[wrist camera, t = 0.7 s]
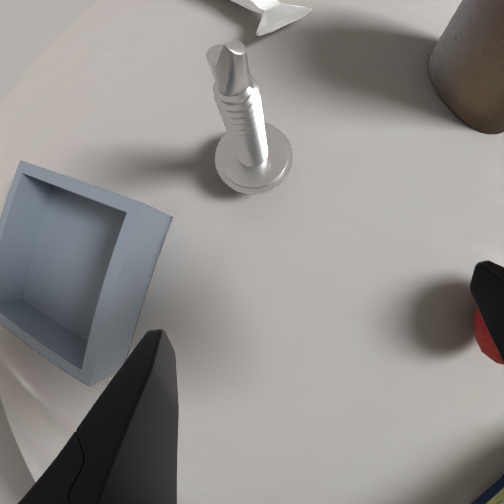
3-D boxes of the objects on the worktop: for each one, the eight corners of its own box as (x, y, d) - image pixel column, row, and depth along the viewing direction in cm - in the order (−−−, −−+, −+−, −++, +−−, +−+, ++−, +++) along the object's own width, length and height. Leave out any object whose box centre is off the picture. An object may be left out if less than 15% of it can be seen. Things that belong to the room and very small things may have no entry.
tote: (124, 366, 22) (89, 386, 17) (21, 303, 23) (-18, 307, 18) (172, 217, 22) (143, 203, 17) (58, 176, 23) (20, 160, 18)
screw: (208, 181, 22) (241, 124, 22) (271, 213, 21) (303, 152, 21) (124, 82, 9) (201, -11, 9) (255, 130, 8) (324, 22, 8)
